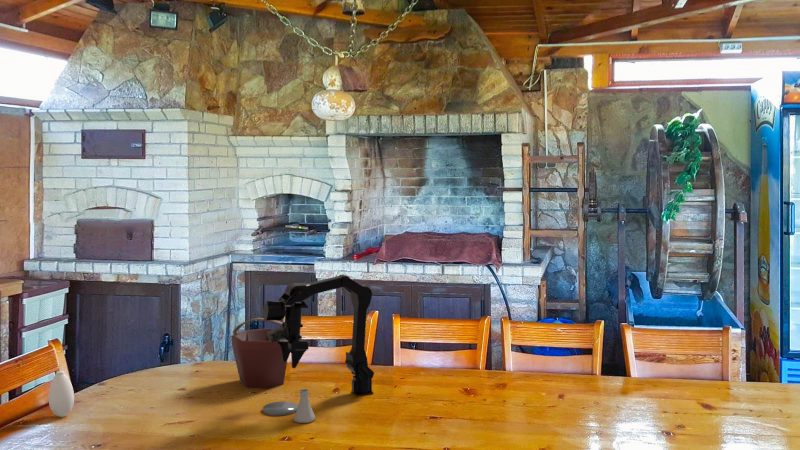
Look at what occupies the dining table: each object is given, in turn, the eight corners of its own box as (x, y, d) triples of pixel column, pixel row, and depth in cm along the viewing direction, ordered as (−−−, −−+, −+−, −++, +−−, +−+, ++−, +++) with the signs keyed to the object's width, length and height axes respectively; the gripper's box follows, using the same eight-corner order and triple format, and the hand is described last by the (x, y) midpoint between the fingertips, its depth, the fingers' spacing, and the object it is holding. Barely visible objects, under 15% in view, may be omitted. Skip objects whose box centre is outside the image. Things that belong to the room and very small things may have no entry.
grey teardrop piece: (50, 421, 248) (47, 367, 246) (48, 414, 254) (46, 362, 253) (75, 417, 251) (73, 364, 250) (74, 410, 258) (71, 359, 256)
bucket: (306, 380, 292) (305, 316, 290) (267, 395, 273) (265, 327, 271) (259, 371, 305) (257, 310, 303) (218, 385, 286) (217, 320, 284)
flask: (311, 424, 243) (311, 394, 242) (290, 423, 244) (289, 392, 243) (318, 417, 250) (318, 387, 249) (297, 415, 251) (297, 386, 251)
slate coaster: (293, 402, 265) (293, 399, 265) (302, 412, 254) (302, 410, 254) (259, 406, 261) (259, 404, 260) (266, 417, 249) (266, 414, 249)
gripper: (262, 315, 266) (259, 359, 266) (279, 325, 249) (275, 372, 250) (292, 315, 271) (289, 358, 271) (310, 325, 254) (307, 371, 255)
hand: (289, 364), depth 262 cm, fingers open, 9 cm apart
